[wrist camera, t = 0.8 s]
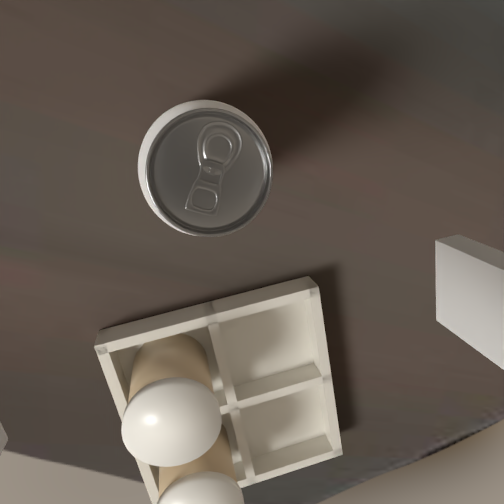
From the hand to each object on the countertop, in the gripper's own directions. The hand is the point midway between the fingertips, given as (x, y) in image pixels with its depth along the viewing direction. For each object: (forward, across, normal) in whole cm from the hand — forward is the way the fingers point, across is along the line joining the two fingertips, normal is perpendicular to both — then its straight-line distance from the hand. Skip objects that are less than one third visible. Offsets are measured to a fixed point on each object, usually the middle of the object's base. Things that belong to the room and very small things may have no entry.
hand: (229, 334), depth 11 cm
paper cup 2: (+19, -4, -21) cm, 29 cm away
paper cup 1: (+19, -4, -13) cm, 23 cm away
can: (+20, +1, +3) cm, 20 cm away
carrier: (+20, 0, -17) cm, 26 cm away
